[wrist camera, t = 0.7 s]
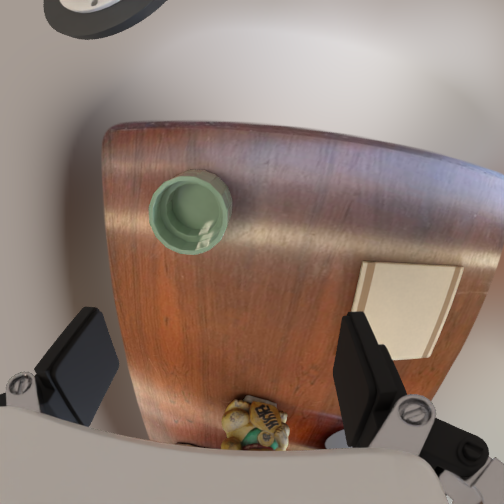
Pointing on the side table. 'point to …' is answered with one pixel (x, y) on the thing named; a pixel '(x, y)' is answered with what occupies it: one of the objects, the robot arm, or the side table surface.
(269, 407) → the decorative figurine
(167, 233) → the bowl
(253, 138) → the side table surface
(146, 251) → the side table surface
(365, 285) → the cloth
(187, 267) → the side table surface
